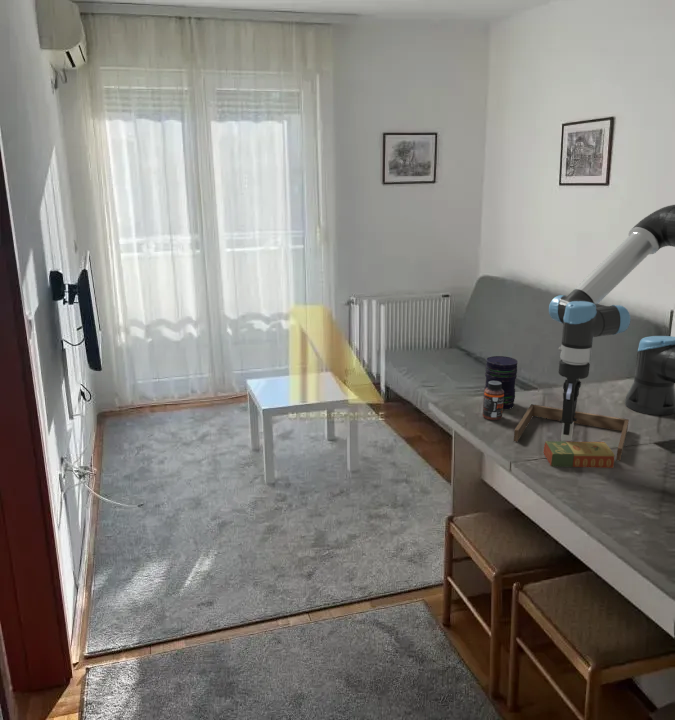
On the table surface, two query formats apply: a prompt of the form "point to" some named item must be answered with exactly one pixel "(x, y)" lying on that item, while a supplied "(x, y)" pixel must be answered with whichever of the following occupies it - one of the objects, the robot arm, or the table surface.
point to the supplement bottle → (493, 401)
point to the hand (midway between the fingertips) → (565, 444)
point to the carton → (579, 454)
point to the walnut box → (581, 419)
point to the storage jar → (503, 376)
